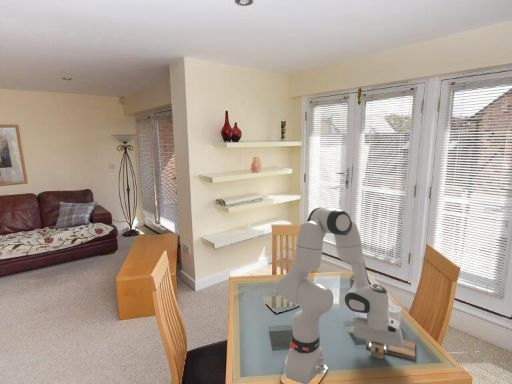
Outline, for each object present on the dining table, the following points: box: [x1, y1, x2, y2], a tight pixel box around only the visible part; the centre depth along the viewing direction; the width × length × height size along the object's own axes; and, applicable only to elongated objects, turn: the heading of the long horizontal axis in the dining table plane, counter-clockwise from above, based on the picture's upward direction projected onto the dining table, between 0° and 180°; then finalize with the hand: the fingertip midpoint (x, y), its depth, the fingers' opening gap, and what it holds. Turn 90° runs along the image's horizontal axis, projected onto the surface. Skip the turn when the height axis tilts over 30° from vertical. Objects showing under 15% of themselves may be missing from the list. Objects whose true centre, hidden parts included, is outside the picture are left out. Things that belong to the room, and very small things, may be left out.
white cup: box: [388, 304, 402, 325], centre depth 149 cm, size 8×8×10 cm
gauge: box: [370, 341, 385, 360], centre depth 133 cm, size 16×5×6 cm, turn 152°
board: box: [365, 338, 416, 361], centre depth 134 cm, size 11×20×2 cm, turn 62°
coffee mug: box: [349, 274, 354, 290], centre depth 184 cm, size 13×10×10 cm
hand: (377, 349), depth 129 cm, fingers closed on gauge, 5 cm apart
